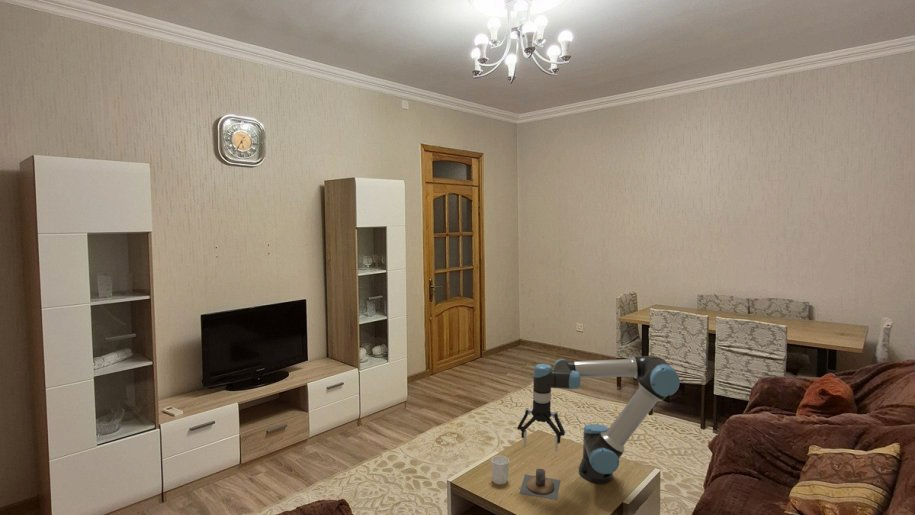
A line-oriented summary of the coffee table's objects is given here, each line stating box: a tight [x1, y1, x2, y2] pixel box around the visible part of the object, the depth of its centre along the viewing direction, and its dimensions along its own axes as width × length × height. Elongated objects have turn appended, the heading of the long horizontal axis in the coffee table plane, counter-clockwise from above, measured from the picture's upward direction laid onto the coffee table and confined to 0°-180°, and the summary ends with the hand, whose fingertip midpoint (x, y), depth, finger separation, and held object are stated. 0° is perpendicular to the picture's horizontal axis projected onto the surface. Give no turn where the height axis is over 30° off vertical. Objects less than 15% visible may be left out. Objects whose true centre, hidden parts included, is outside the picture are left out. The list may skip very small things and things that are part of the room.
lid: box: [527, 468, 554, 495], centre depth 215 cm, size 12×12×7 cm
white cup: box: [491, 455, 510, 485], centre depth 220 cm, size 8×8×10 cm
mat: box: [518, 474, 561, 501], centre depth 216 cm, size 16×16×1 cm
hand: (540, 447), depth 214 cm, fingers open, 13 cm apart
